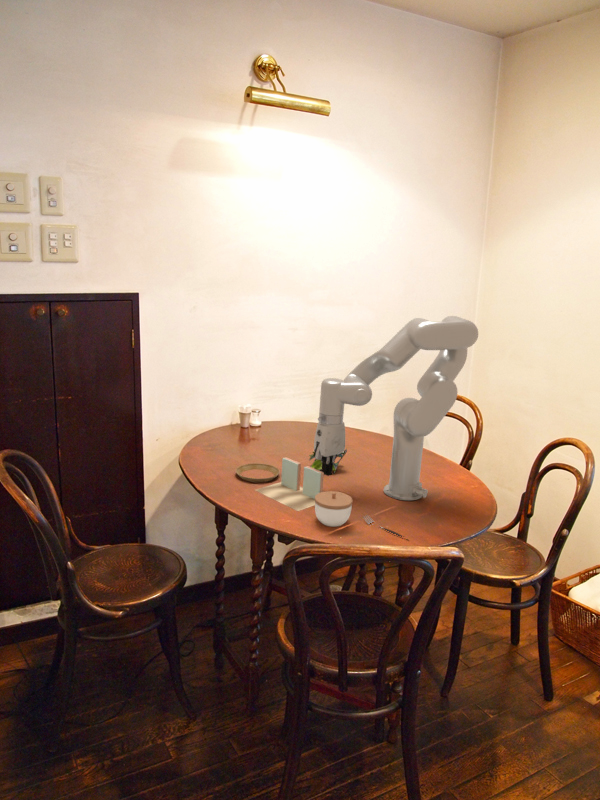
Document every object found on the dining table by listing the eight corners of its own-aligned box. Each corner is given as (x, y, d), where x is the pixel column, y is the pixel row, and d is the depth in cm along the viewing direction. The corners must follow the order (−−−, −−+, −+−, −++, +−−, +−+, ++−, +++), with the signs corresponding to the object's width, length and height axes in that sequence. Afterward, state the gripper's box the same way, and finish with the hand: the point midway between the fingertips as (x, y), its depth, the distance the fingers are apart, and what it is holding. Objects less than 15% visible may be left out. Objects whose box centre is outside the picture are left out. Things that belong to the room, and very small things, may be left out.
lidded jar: (348, 516, 183) (350, 486, 181) (352, 532, 172) (355, 501, 170) (312, 514, 182) (314, 484, 180) (314, 531, 172) (316, 499, 170)
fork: (406, 543, 169) (406, 536, 168) (361, 522, 180) (362, 516, 179) (411, 540, 170) (412, 534, 170) (367, 520, 182) (368, 514, 181)
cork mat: (330, 501, 193) (330, 499, 192) (297, 513, 183) (297, 511, 183) (286, 481, 206) (286, 480, 206) (254, 491, 197) (254, 490, 197)
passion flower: (323, 482, 224) (341, 449, 227) (341, 488, 213) (359, 454, 216) (297, 465, 219) (315, 432, 221) (314, 471, 208) (333, 436, 211)
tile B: (299, 489, 199) (301, 463, 197) (295, 490, 198) (297, 464, 196) (284, 483, 204) (286, 457, 201) (281, 484, 203) (282, 458, 200)
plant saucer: (226, 475, 210) (227, 468, 209) (262, 467, 219) (262, 460, 219) (252, 489, 199) (252, 481, 198) (288, 480, 208) (288, 473, 208)
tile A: (321, 499, 192) (323, 472, 190) (318, 501, 191) (320, 473, 189) (306, 492, 197) (307, 465, 195) (302, 493, 196) (304, 466, 193)
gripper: (322, 425, 184) (318, 482, 189) (356, 417, 195) (351, 472, 199) (305, 419, 190) (301, 475, 194) (338, 412, 200) (334, 466, 204)
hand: (326, 473), depth 197 cm, fingers closed
